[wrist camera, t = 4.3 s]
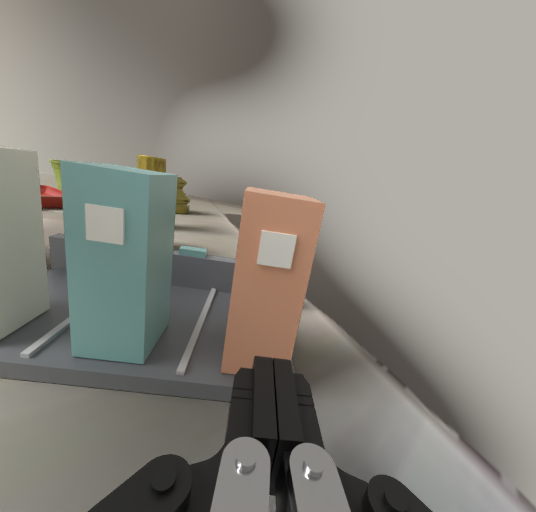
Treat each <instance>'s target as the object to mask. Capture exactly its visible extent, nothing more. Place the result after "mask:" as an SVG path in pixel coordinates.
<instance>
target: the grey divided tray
mask: <svg viewBox="0 0 536 512" xmlns="http://www.w3.org/2000/svg"><path fill="white" fill-rule="evenodd" d="M49 243H50V256H51V270H49V271H47V278H48V291H49V303H50V309H48V310H47V311H45V312H44V313H42V314H40V315H39V316H37V317H36V318H34V319H33V320H31V321H29V322H28V323H26V324H25V325H23V326H21V327H20V328H18V329H17V330H15V331H14V332H12V333H10V334H9V335H7V336H6V337H4V338H3V339H1V340H0V378H7V379H17V380H26V381H36V382H46V383H55V384H65V385H74V386H84V387H93V388H103V389H112V390H122V391H131V392H141V393H150V394H160V395H169V396H179V397H188V398H198V399H207V400H217V401H226V402H230V401H231V394H232V388H233V381H234V376H235V374H227V373H221V366H222V358H223V351H224V343H225V336H226V328H227V321H228V313H229V306H230V298H231V291H232V283H233V276H234V268H235V261H236V259H233V258H226V257H219V256H212V255H207V250H208V249H203V248H196V247H189V246H181V247H180V248H179V251H178V250H173V260H172V276H171V293H170V309H169V324H168V325H167V327H166V329H165V330H164V332H163V333H162V335H161V337H160V338H159V340H158V342H157V343H156V345H155V346H154V348H153V350H152V351H151V353H150V355H149V356H148V358H147V359H146V361H145V363H144V364H135V363H126V362H117V361H108V360H100V359H91V358H82V357H73V356H72V352H71V335H70V319H69V302H68V285H67V268H66V251H65V234H60V233H59V234H56V235H52V236H49ZM291 364H292V370H293V373H295V370H294V365H293V359H292V358H291Z"/></svg>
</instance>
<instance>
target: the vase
mask: <svg viewBox="0 0 536 512" xmlns="http://www.w3.org/2000/svg"><path fill="white" fill-rule="evenodd" d="M137 168H138V169H144V170H150V171H157V172H163V173H165V172H166V159H162V158H156V157H151V156H145V155H137Z"/></svg>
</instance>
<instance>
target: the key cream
mask: <svg viewBox="0 0 536 512" xmlns="http://www.w3.org/2000/svg"><path fill="white" fill-rule="evenodd" d="M48 309H50V303H49V291H48V278H47V266H46V254H45V242H44V230H43V217H42V205H41V193H40V181H39V169H38V157H37V152H36V151H29V150H23V149H17V148H11V147H5V146H0V340H1V339H3V338H4V337H6V336H7V335H9V334H10V333H12V332H14V331H15V330H17V329H18V328H20V327H21V326H23V325H25V324H26V323H28V322H29V321H31V320H33V319H34V318H36V317H37V316H39V315H40V314H42V313H44V312H45V311H47V310H48Z"/></svg>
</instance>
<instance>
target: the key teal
mask: <svg viewBox="0 0 536 512" xmlns="http://www.w3.org/2000/svg"><path fill="white" fill-rule="evenodd" d="M60 167H61V184H62V200H63V217H64V234H65V251H66V268H67V285H68V302H69V319H70V335H71V352H72V356H73V357H82V358H91V359H100V360H108V361H117V362H126V363H135V364H144V363H145V361H146V359H147V358H148V356H149V355H150V353H151V351H152V350H153V348H154V346H155V345H156V343H157V342H158V340H159V338H160V337H161V335H162V333H163V332H164V330H165V329H166V327H167V325H168V324H169V309H170V293H171V276H172V260H173V244H174V228H175V211H176V195H177V179H178V175H174V174H168V173H163V172H157V171H150V170H144V169H138V168H132V167H126V166H120V165H114V164H102V163H89V162H75V161H62V160H60Z"/></svg>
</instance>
